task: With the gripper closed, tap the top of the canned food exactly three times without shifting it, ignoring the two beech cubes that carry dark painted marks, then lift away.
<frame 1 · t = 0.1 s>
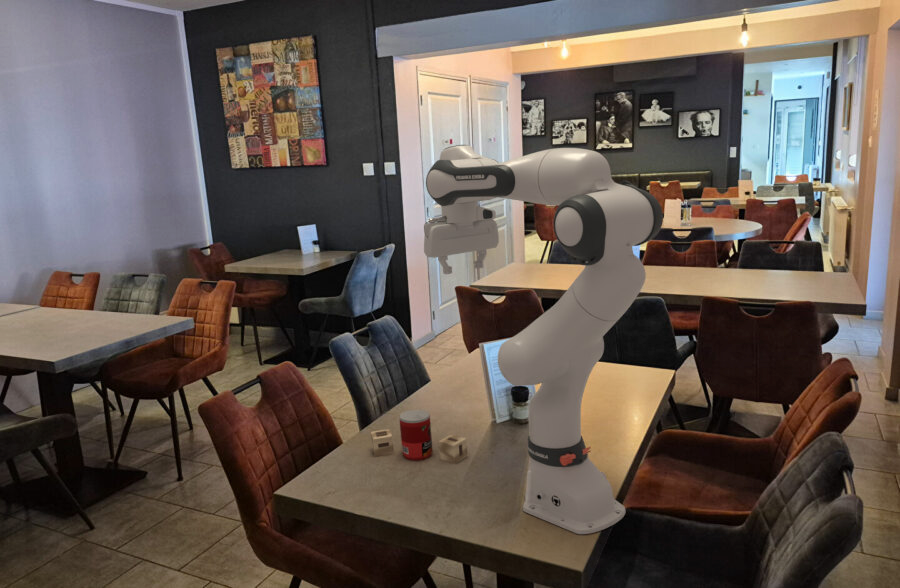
hand: (463, 271, 159), 48 cm above the table, fingers open, 8 cm apart
marked cube far: (383, 451, 173), on the table
canned food: (417, 455, 170), on the table
marked cube near: (453, 458, 167), on the table
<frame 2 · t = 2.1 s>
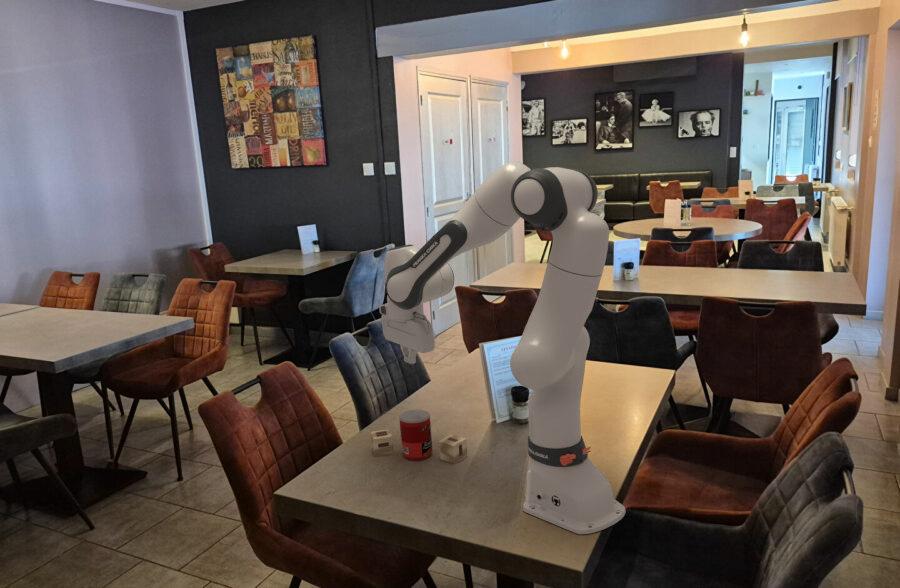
hand: (410, 362, 165), 25 cm above the table, fingers closed
nothing on the table moved.
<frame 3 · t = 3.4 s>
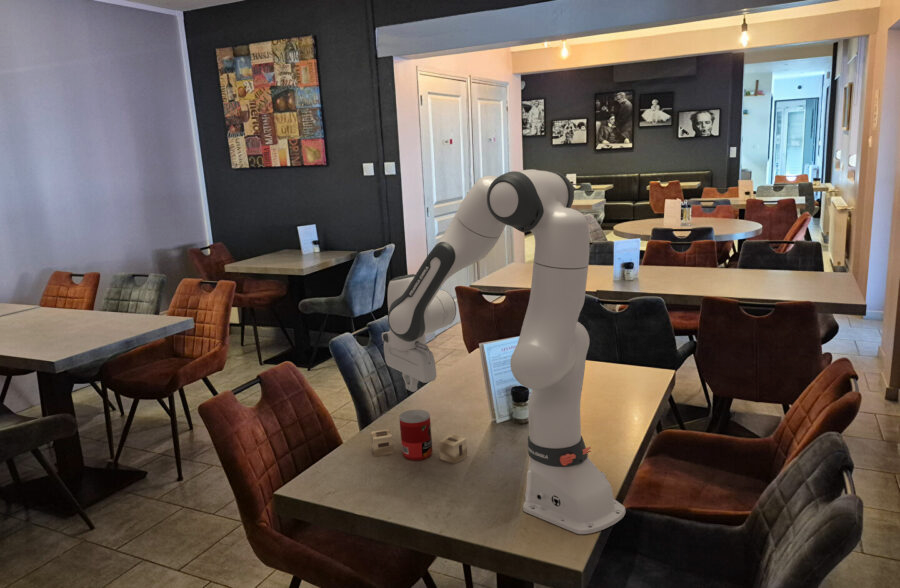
hand: (411, 390, 167), 18 cm above the table, fingers closed
nothing on the table moved.
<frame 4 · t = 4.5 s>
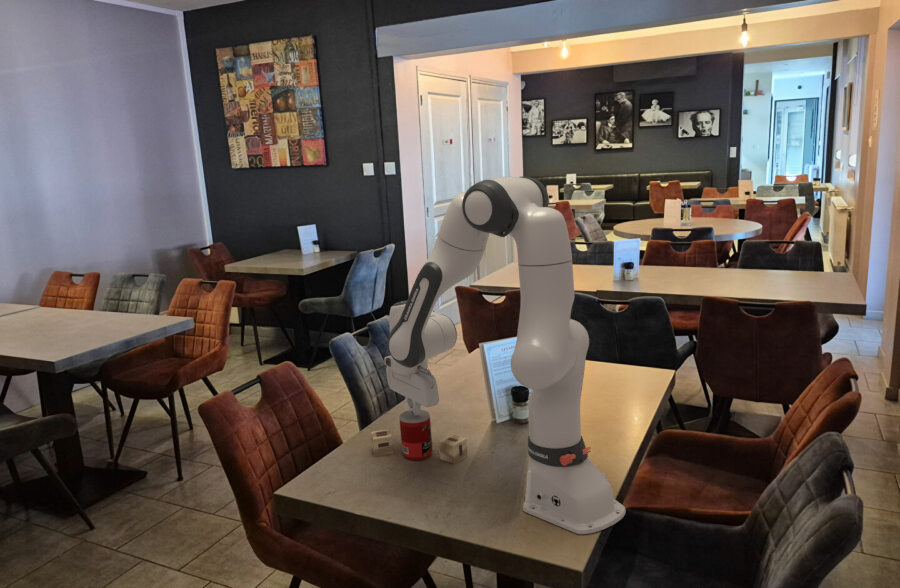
hand: (414, 413, 168), 11 cm above the table, fingers closed
nothing on the table moved.
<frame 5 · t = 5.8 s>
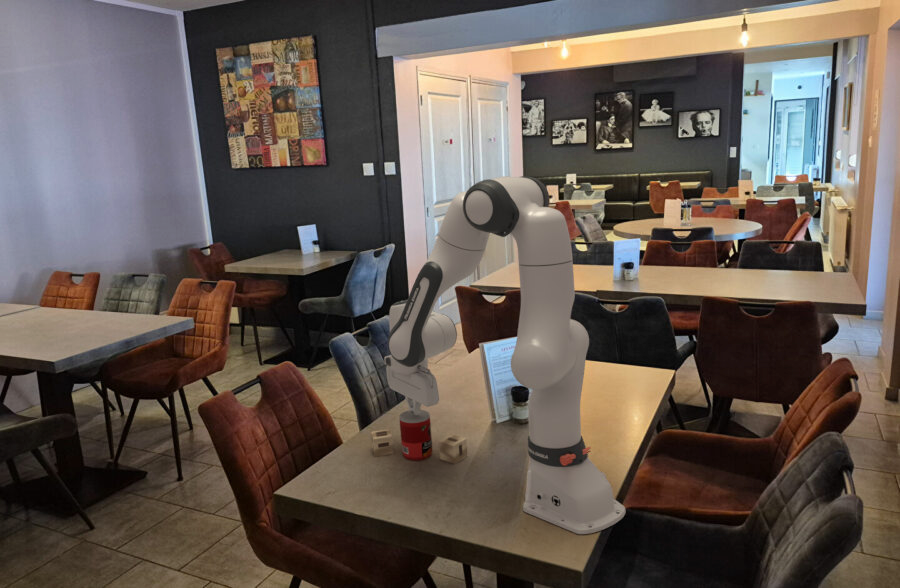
hand: (414, 413, 168), 11 cm above the table, fingers closed
nothing on the table moved.
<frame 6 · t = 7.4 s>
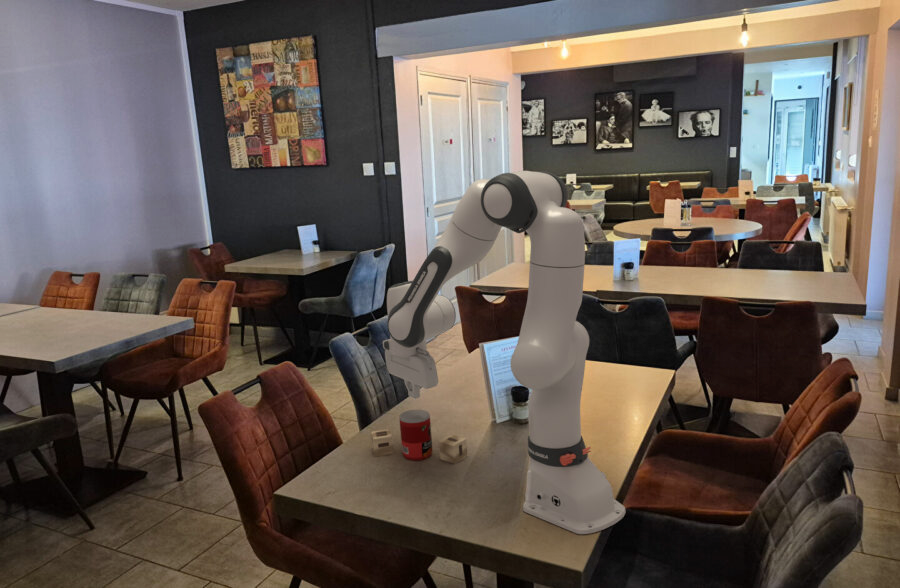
hand: (414, 396, 167), 16 cm above the table, fingers closed
nothing on the table moved.
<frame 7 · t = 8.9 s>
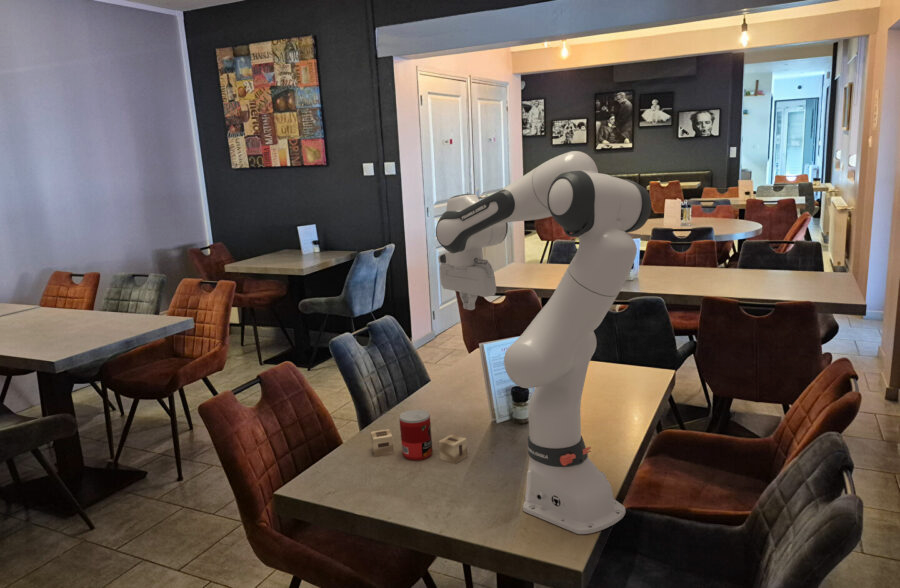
hand: (469, 309, 171), 36 cm above the table, fingers closed
nothing on the table moved.
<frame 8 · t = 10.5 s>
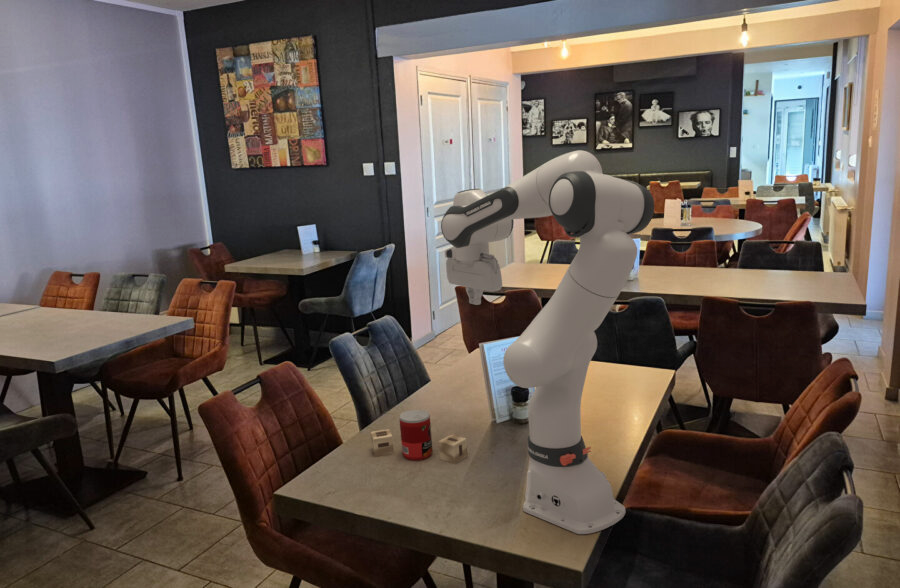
hand: (475, 303, 172), 37 cm above the table, fingers closed
nothing on the table moved.
at the end: canned food moved 0.2 cm from its start; canned food tilted 0°; the gripper is holding nothing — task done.
